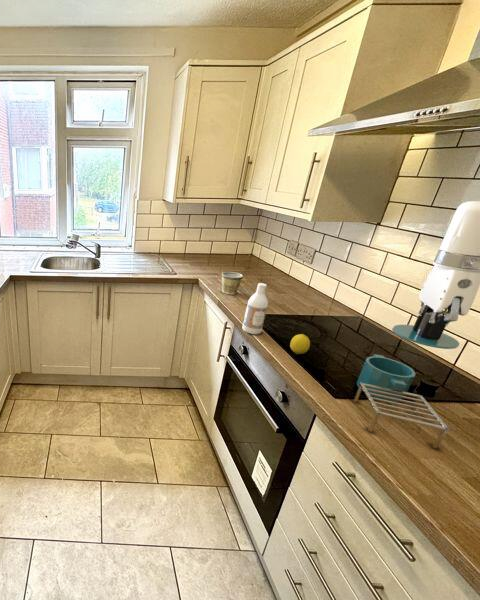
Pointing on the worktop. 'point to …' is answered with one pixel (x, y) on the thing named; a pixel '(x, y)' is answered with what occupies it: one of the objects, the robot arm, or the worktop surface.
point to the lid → (414, 336)
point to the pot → (386, 376)
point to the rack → (411, 412)
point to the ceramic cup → (231, 282)
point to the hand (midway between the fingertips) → (425, 334)
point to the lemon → (300, 344)
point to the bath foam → (256, 311)
